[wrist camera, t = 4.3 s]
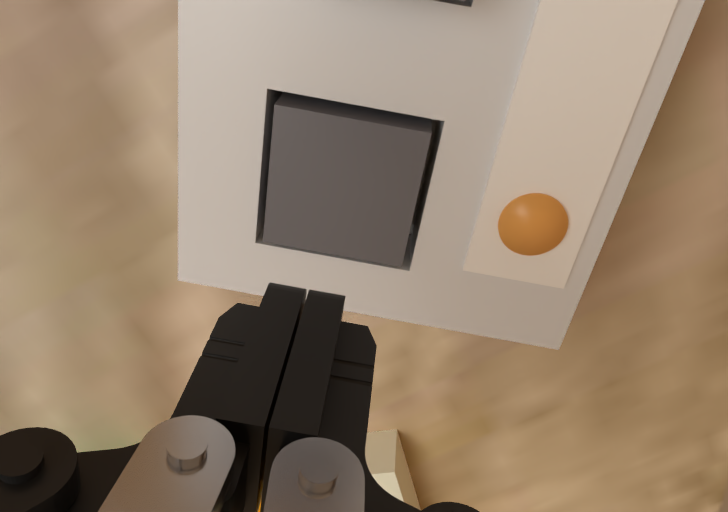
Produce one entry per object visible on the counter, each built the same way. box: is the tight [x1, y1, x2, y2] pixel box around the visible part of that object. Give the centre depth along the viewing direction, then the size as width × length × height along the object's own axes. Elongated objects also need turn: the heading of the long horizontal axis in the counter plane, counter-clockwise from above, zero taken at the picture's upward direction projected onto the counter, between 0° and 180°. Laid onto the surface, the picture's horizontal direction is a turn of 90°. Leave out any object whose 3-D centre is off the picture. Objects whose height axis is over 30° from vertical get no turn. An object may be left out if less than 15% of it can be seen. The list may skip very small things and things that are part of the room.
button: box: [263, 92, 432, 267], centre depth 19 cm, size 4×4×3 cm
